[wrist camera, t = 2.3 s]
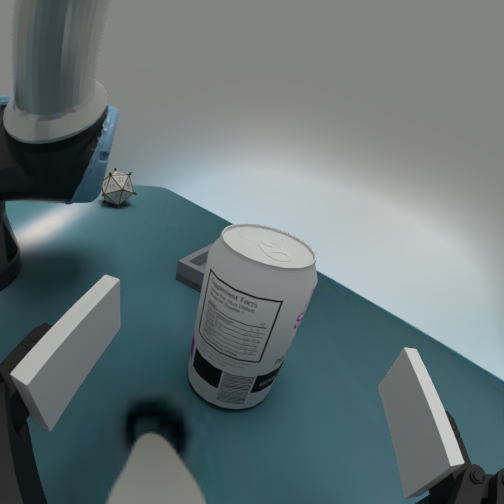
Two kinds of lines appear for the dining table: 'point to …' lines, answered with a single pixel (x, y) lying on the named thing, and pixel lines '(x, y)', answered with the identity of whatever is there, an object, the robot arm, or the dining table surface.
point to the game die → (117, 187)
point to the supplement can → (249, 312)
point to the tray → (193, 268)
